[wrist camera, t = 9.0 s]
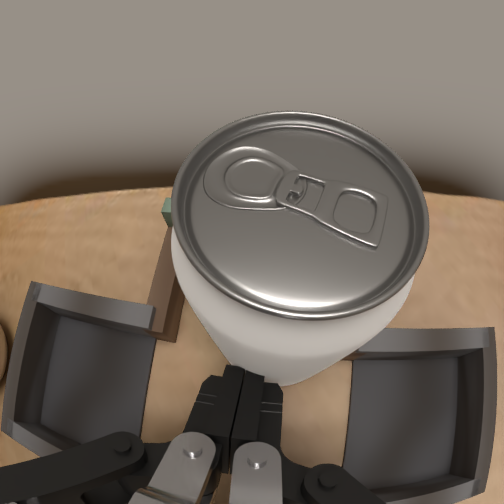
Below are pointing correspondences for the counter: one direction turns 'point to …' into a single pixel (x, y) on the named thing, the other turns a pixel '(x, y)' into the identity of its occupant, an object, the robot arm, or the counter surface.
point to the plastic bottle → (3, 352)
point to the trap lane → (364, 359)
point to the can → (295, 240)
